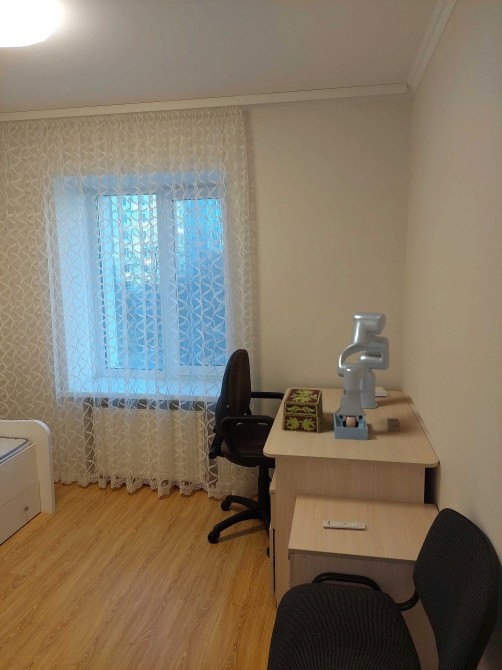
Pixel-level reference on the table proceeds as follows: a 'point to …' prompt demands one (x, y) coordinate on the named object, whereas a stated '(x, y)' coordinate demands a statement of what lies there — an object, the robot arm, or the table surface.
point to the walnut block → (393, 424)
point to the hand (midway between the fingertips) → (350, 427)
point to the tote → (349, 429)
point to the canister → (350, 421)
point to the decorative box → (303, 411)
